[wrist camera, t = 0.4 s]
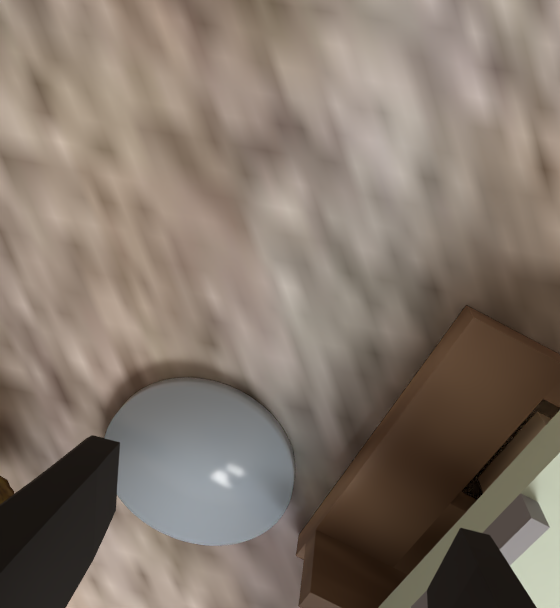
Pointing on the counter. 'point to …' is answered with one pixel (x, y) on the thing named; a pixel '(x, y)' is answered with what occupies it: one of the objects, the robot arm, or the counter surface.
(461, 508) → the board
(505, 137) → the counter surface
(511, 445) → the block
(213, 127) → the counter surface
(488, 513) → the cover
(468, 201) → the counter surface
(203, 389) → the saucer
